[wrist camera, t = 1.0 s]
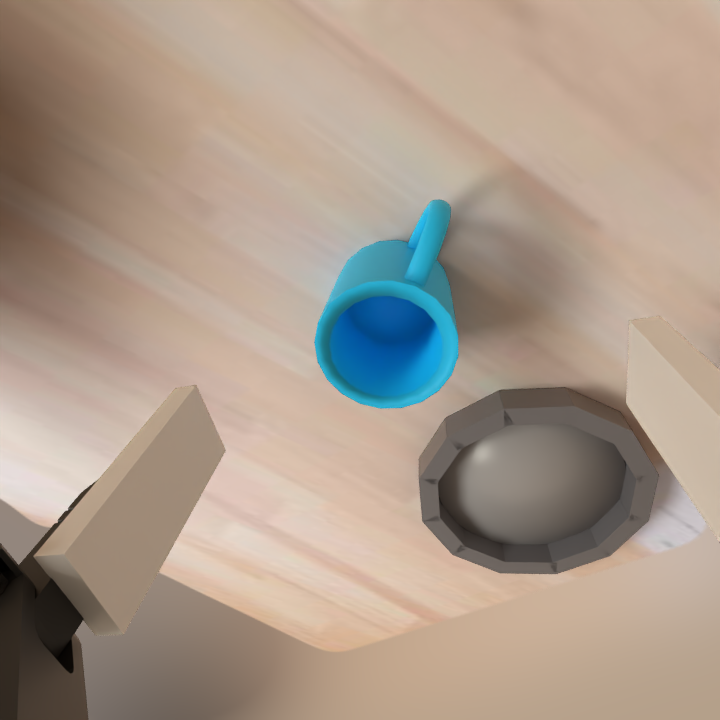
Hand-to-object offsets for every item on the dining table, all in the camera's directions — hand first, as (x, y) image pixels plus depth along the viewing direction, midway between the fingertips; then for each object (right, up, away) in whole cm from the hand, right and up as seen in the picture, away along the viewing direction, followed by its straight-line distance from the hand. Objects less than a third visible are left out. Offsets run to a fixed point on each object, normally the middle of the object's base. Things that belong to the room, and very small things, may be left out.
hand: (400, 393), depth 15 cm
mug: (+2, +7, +19) cm, 20 cm away
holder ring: (+13, -9, +26) cm, 30 cm away
